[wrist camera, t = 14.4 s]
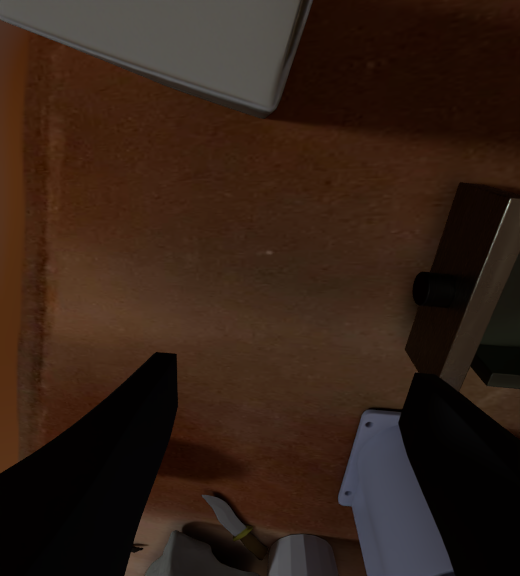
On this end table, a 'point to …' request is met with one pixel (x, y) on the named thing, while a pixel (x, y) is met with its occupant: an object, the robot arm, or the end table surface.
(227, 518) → the knife
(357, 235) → the end table surface
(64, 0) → the box
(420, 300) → the drawer
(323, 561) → the shot glass
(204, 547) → the decorative stone
